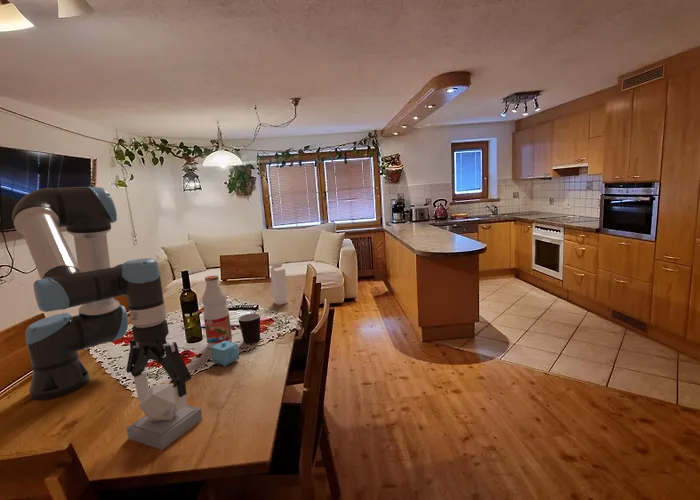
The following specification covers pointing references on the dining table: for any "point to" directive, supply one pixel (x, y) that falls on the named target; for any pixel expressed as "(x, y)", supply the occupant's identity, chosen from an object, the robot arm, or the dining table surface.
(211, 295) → the fruit juice
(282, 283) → the milk
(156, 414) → the die
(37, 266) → the robot arm
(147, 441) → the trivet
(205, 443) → the dining table surface
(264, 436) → the dining table surface
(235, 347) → the blue spouted cube
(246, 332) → the black cup
